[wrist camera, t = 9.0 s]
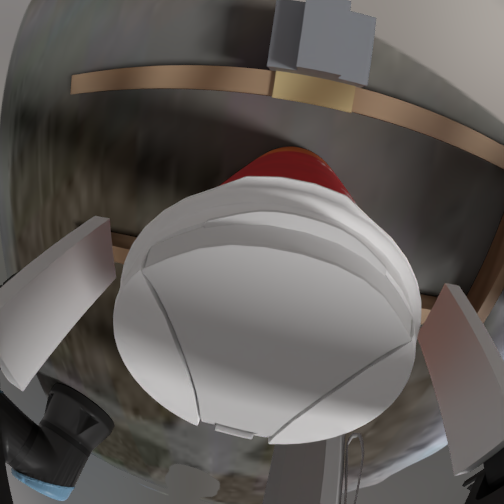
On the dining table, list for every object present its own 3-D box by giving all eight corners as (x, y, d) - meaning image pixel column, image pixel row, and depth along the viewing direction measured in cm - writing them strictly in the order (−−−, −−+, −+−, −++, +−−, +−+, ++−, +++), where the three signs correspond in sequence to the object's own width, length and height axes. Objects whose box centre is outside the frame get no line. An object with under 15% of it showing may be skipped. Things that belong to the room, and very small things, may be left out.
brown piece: (93, 243, 24) (77, 256, 22) (88, 74, 17) (67, 74, 15) (466, 317, 21) (475, 335, 19) (530, 163, 14) (548, 172, 12)
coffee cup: (330, 257, 21) (341, 462, 8) (221, 228, 21) (117, 405, 8) (368, 148, 17) (509, 276, 4) (244, 114, 17) (78, 156, 4)
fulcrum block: (274, 74, 16) (262, 61, 11) (283, 19, 14) (273, -12, 9) (354, 89, 15) (373, 83, 10) (362, 34, 13) (383, 9, 8)
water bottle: (286, 415, 32) (244, 598, 11) (277, 379, 29) (220, 606, 7) (360, 413, 30) (343, 603, 8) (365, 376, 26) (350, 616, 5)
